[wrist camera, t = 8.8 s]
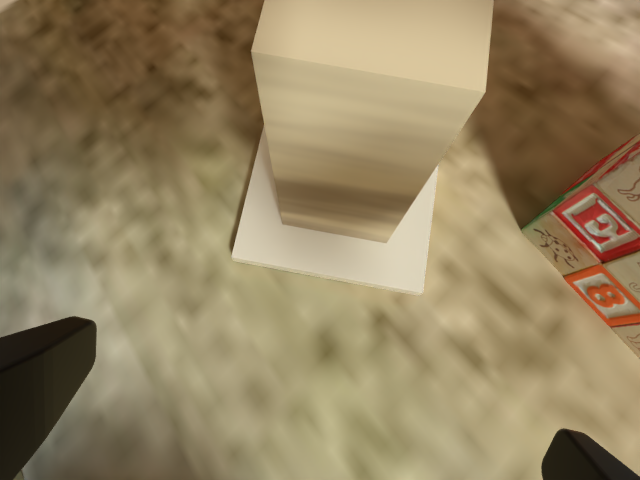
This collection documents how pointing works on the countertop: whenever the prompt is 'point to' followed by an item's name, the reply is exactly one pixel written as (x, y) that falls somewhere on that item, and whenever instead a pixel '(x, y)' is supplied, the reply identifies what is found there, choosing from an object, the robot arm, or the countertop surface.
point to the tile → (332, 240)
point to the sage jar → (19, 476)
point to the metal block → (365, 103)
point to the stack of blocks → (599, 239)
